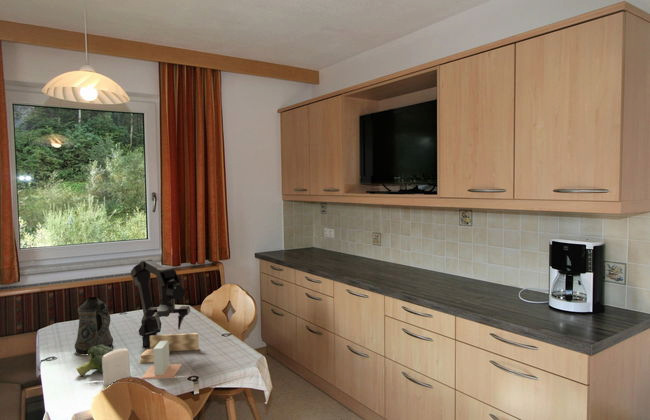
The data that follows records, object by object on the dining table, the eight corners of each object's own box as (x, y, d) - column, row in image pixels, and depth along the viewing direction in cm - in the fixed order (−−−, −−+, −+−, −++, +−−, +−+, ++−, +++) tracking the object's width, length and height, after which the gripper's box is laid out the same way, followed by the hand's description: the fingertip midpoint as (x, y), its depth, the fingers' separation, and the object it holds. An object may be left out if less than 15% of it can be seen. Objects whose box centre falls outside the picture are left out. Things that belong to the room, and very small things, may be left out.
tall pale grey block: (154, 375, 178) (153, 348, 177) (161, 366, 186) (160, 341, 186) (163, 374, 178) (162, 348, 177) (169, 365, 187) (168, 340, 186)
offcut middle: (139, 362, 191) (139, 359, 191) (145, 355, 199) (145, 352, 199) (156, 361, 192) (156, 358, 192) (161, 354, 200) (161, 351, 200)
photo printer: (106, 386, 170) (104, 355, 169) (101, 383, 172) (99, 353, 172) (132, 377, 178) (130, 347, 177) (127, 374, 180) (125, 345, 180)
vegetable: (77, 364, 187) (111, 343, 193) (90, 389, 183) (124, 366, 189) (66, 356, 177) (102, 334, 183) (79, 383, 172) (116, 359, 178)
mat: (141, 379, 176) (141, 377, 176) (151, 366, 188) (151, 365, 188) (174, 377, 177) (174, 375, 177) (182, 365, 189) (181, 363, 189)
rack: (140, 364, 190) (139, 346, 190) (151, 352, 205) (150, 335, 204) (191, 362, 192) (191, 344, 191) (198, 349, 206) (198, 333, 206)
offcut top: (140, 358, 192) (140, 355, 191) (146, 352, 199) (146, 349, 199) (155, 358, 192) (155, 354, 192) (161, 352, 199) (161, 348, 199)
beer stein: (88, 343, 220) (85, 293, 219) (125, 342, 219) (123, 293, 217) (66, 355, 203) (63, 302, 202) (107, 355, 202) (104, 302, 201)
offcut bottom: (138, 366, 191) (138, 362, 191) (145, 358, 200) (145, 355, 200) (157, 365, 191) (157, 362, 191) (163, 357, 200) (163, 354, 200)
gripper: (140, 301, 190) (141, 336, 191) (183, 300, 192) (185, 335, 193) (148, 295, 202) (150, 328, 203) (190, 293, 203) (191, 326, 204)
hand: (168, 329), depth 200 cm, fingers open, 9 cm apart
